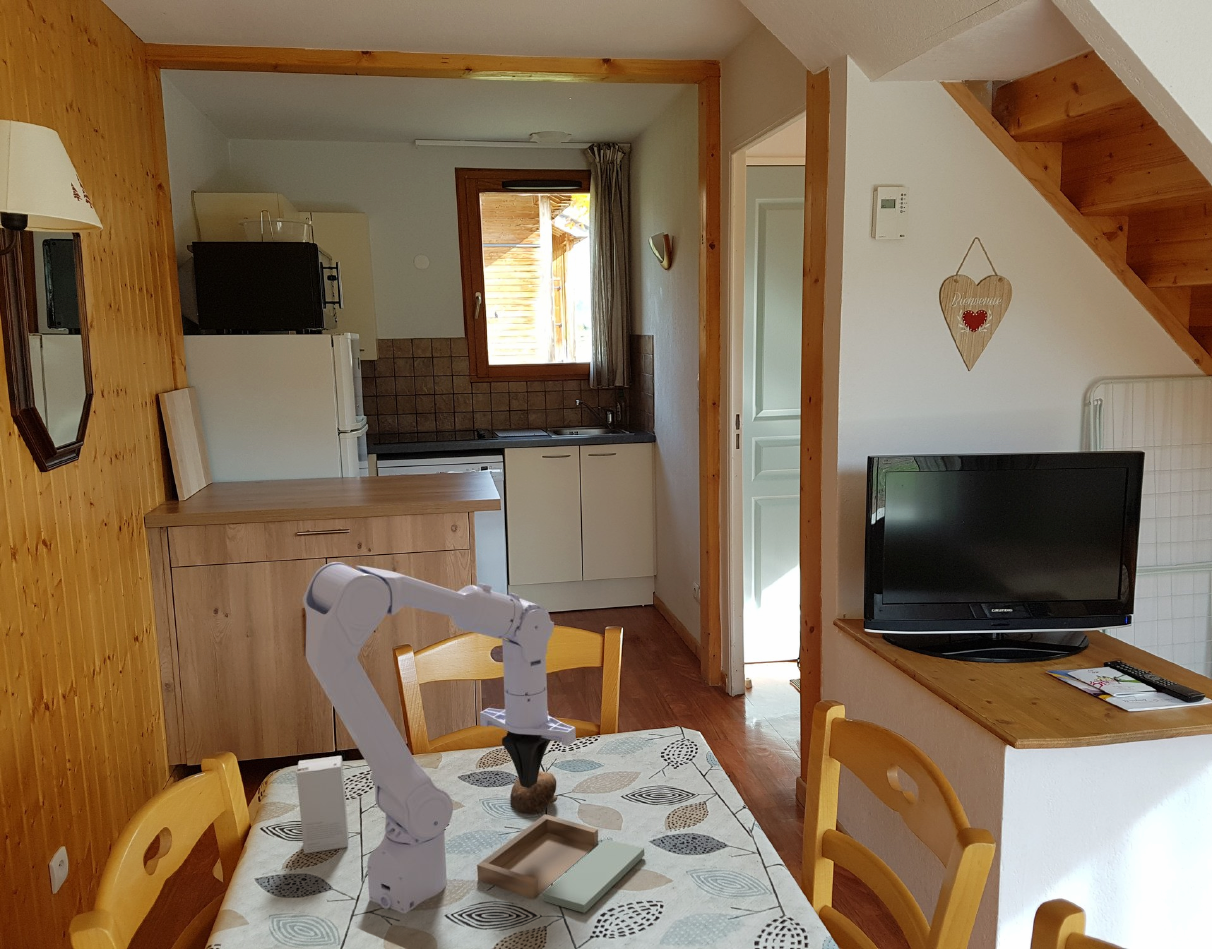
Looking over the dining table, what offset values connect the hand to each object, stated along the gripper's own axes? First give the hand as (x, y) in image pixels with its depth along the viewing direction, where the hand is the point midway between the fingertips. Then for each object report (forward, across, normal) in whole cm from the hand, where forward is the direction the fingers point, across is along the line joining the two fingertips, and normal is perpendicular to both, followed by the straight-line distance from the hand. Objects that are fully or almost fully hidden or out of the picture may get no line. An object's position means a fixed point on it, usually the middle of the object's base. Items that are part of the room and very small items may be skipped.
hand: (528, 784), depth 129 cm
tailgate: (+8, -10, +4) cm, 13 cm away
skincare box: (+10, +26, +13) cm, 31 cm away
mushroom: (+10, +6, -9) cm, 15 cm away
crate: (+9, -4, +4) cm, 11 cm away
